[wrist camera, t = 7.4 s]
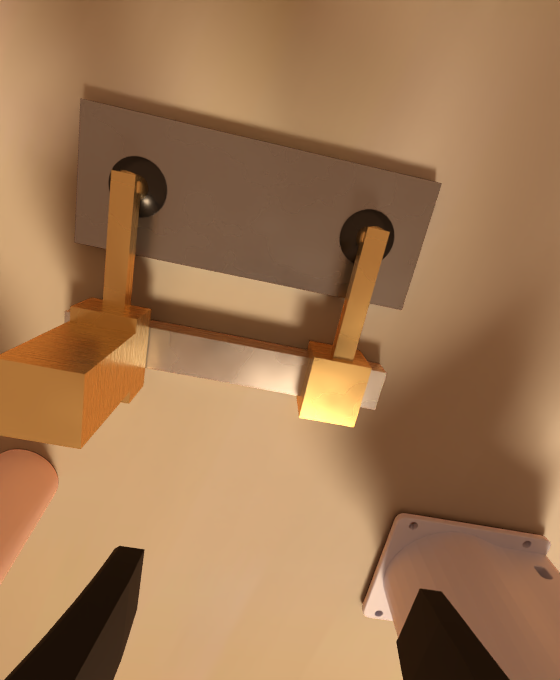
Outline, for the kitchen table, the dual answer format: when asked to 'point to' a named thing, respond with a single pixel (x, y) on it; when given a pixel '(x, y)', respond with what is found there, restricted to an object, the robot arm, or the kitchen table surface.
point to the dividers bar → (289, 352)
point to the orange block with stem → (83, 346)
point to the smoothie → (22, 500)
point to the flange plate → (249, 204)
